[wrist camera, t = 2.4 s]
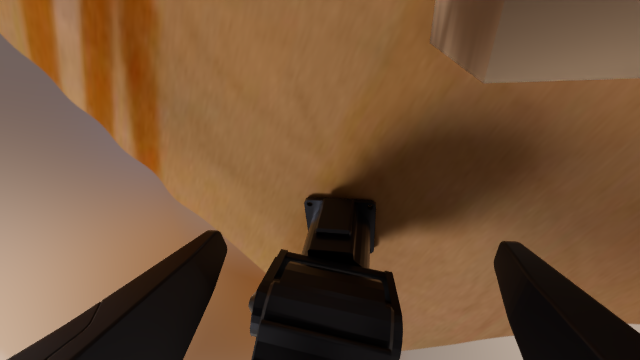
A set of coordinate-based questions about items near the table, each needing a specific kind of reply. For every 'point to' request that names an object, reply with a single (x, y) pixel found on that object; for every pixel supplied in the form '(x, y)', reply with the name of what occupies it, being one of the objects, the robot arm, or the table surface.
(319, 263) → the robot arm
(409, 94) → the table surface
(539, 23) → the walnut slab
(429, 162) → the table surface
